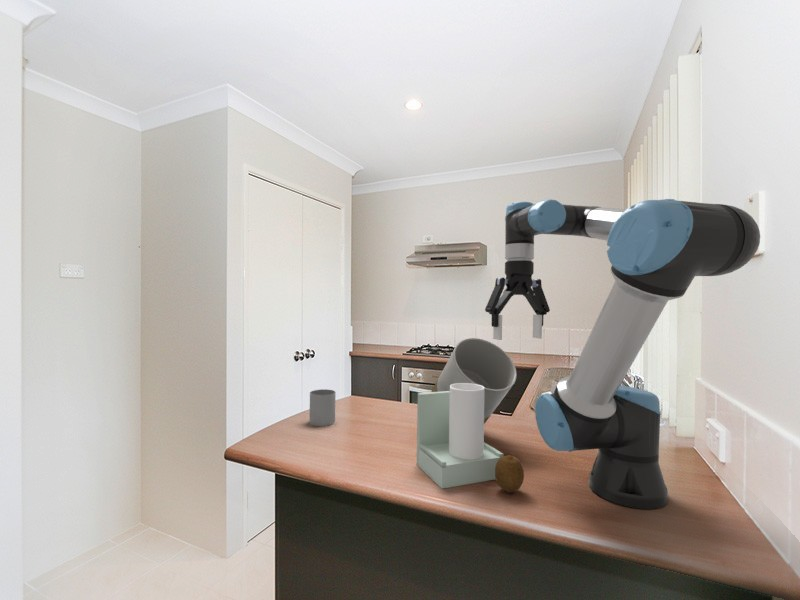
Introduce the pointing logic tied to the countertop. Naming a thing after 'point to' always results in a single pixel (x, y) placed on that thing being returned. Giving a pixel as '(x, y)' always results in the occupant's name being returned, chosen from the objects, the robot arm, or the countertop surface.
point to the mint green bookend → (447, 446)
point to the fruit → (509, 473)
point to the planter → (479, 371)
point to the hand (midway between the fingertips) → (517, 338)
